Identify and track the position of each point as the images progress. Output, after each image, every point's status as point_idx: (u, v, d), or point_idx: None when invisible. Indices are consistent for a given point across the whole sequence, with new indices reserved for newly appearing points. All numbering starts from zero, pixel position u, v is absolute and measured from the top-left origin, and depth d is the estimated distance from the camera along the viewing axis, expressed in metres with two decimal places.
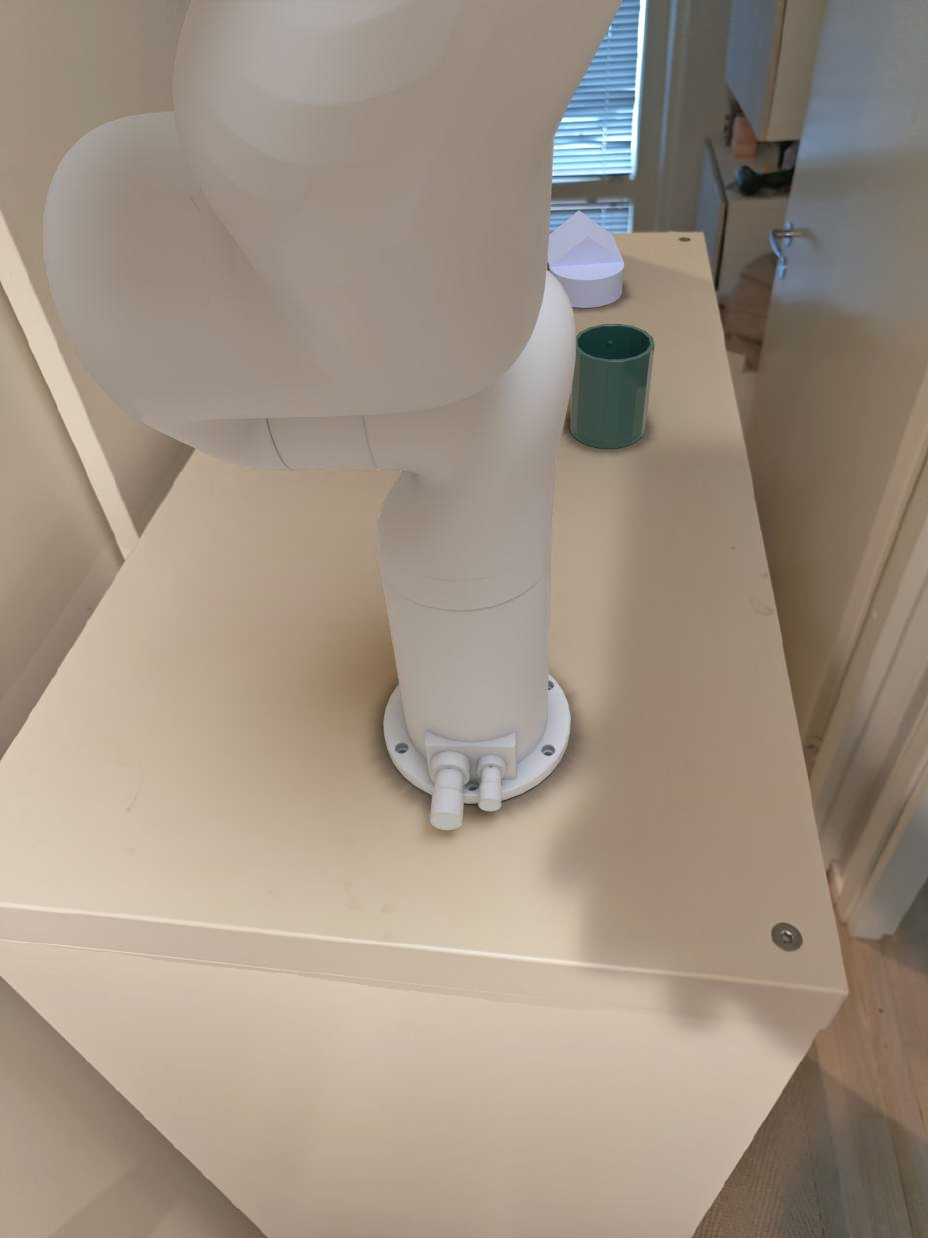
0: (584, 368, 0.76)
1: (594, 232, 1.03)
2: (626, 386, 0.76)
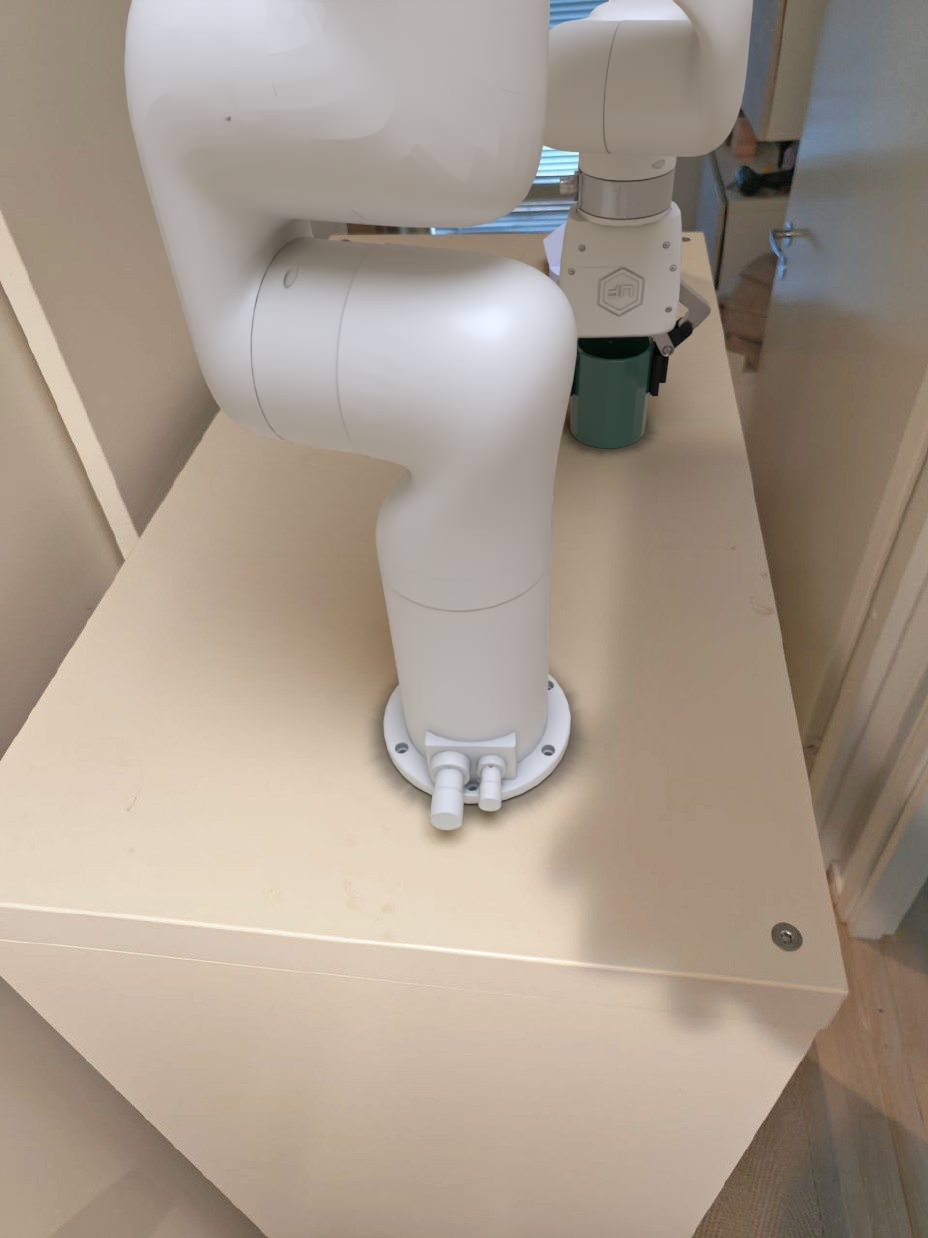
0: (584, 368, 0.76)
1: None
2: (626, 386, 0.76)
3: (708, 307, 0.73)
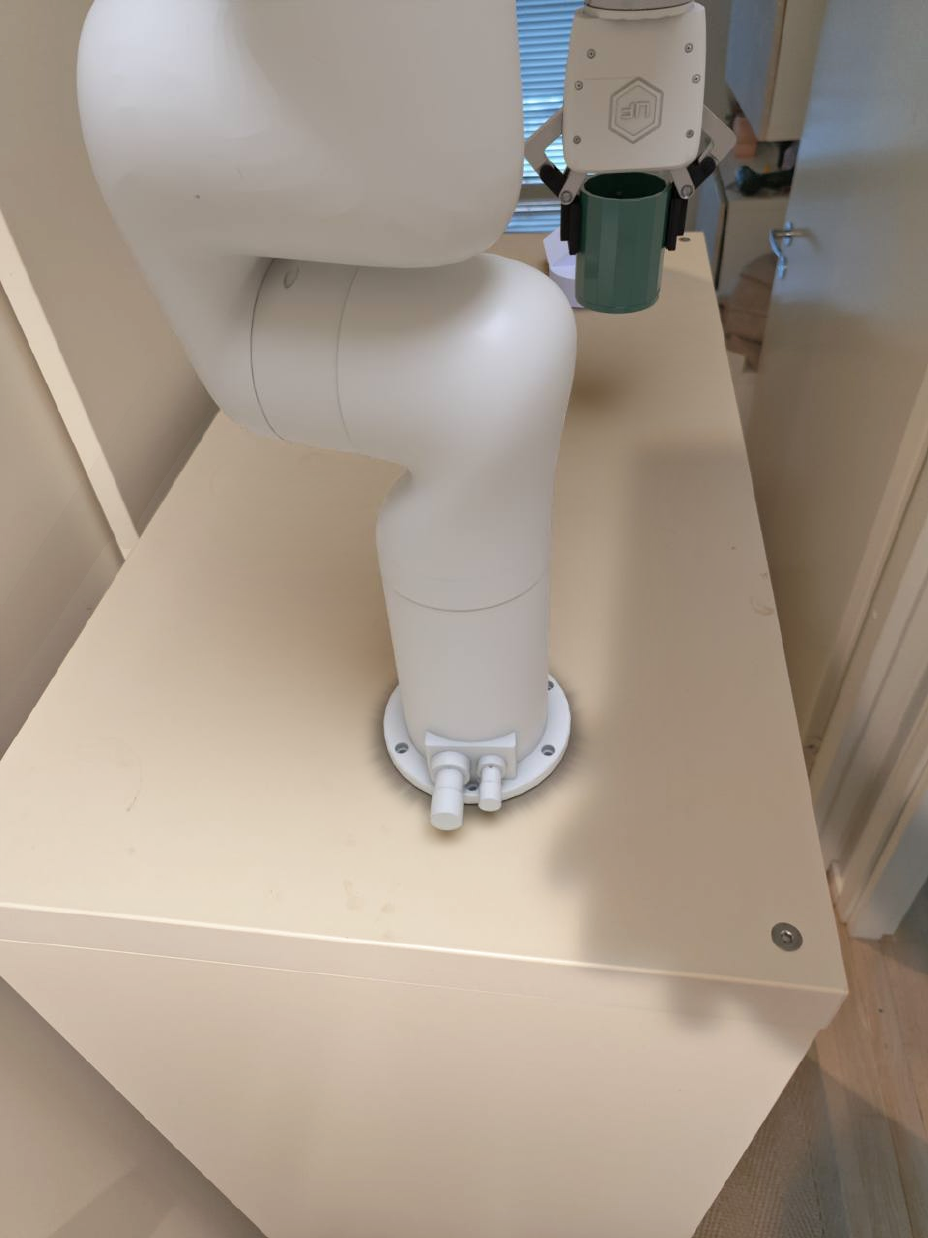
0: (592, 213, 0.66)
1: None
2: (641, 233, 0.66)
3: (734, 136, 0.64)
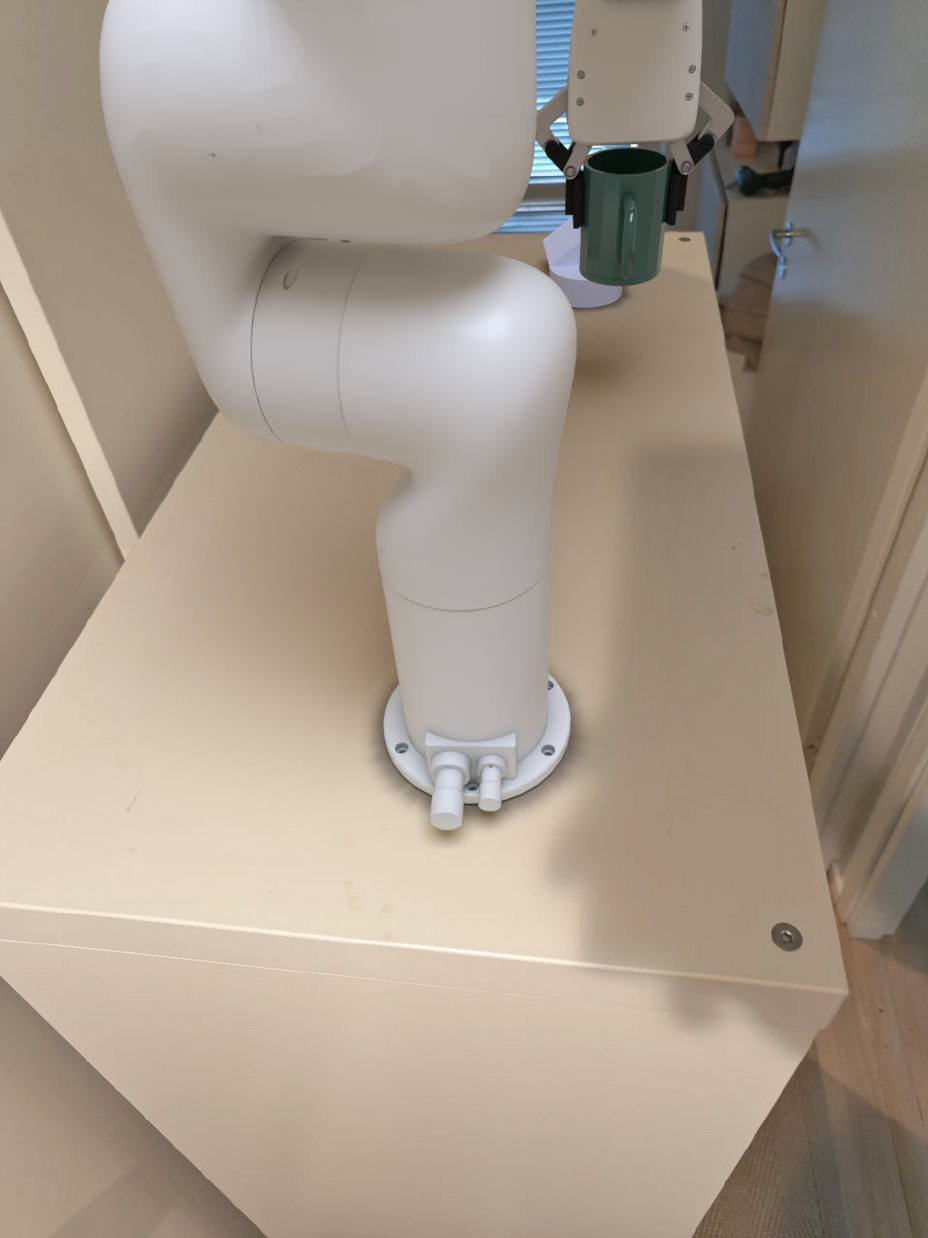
0: None
1: None
2: None
3: None
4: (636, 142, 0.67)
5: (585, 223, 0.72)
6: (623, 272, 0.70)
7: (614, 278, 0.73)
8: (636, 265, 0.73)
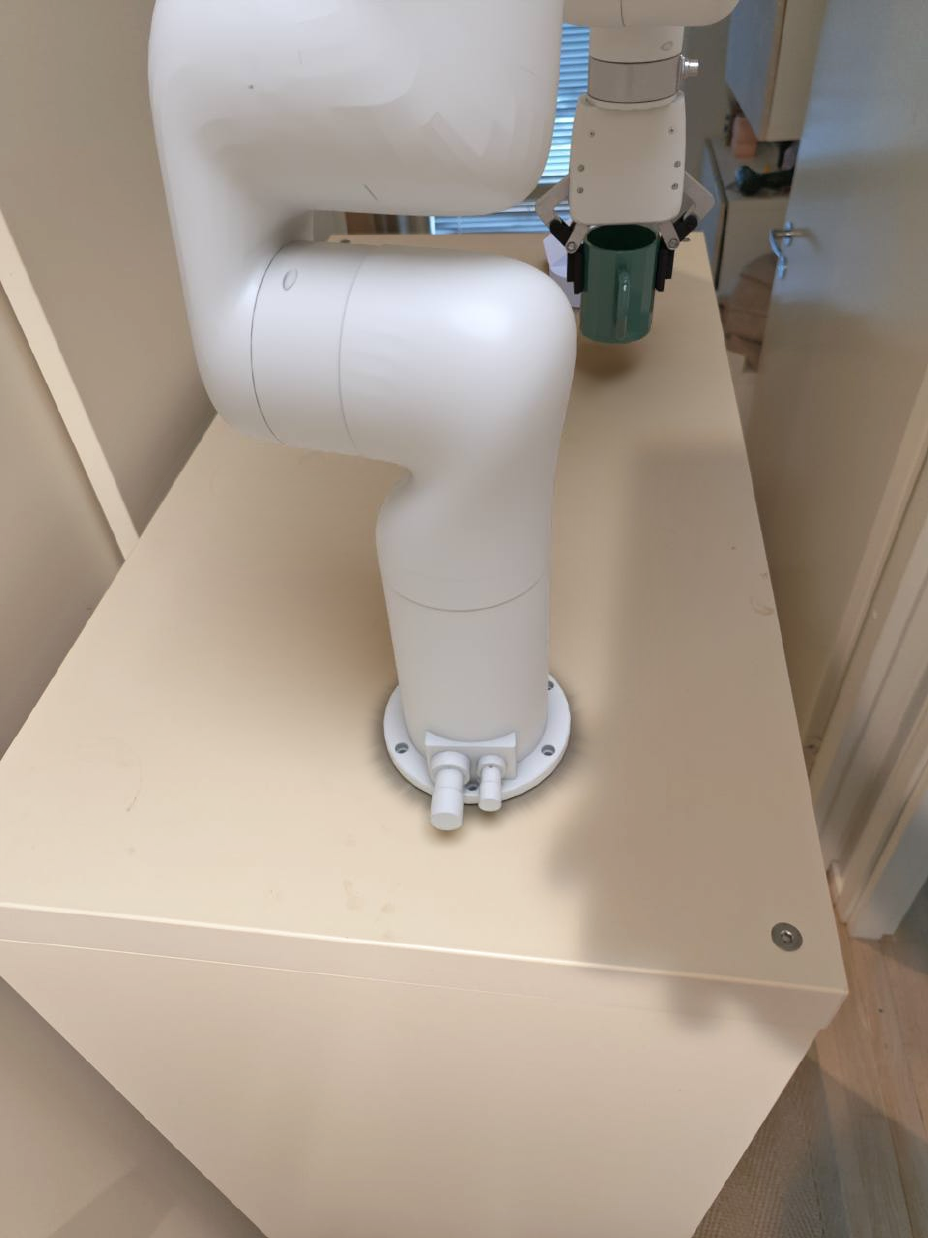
0: None
1: None
2: None
3: (537, 201, 0.79)
4: (629, 223, 0.77)
5: (585, 289, 0.82)
6: (618, 334, 0.80)
7: (610, 337, 0.83)
8: (629, 326, 0.82)
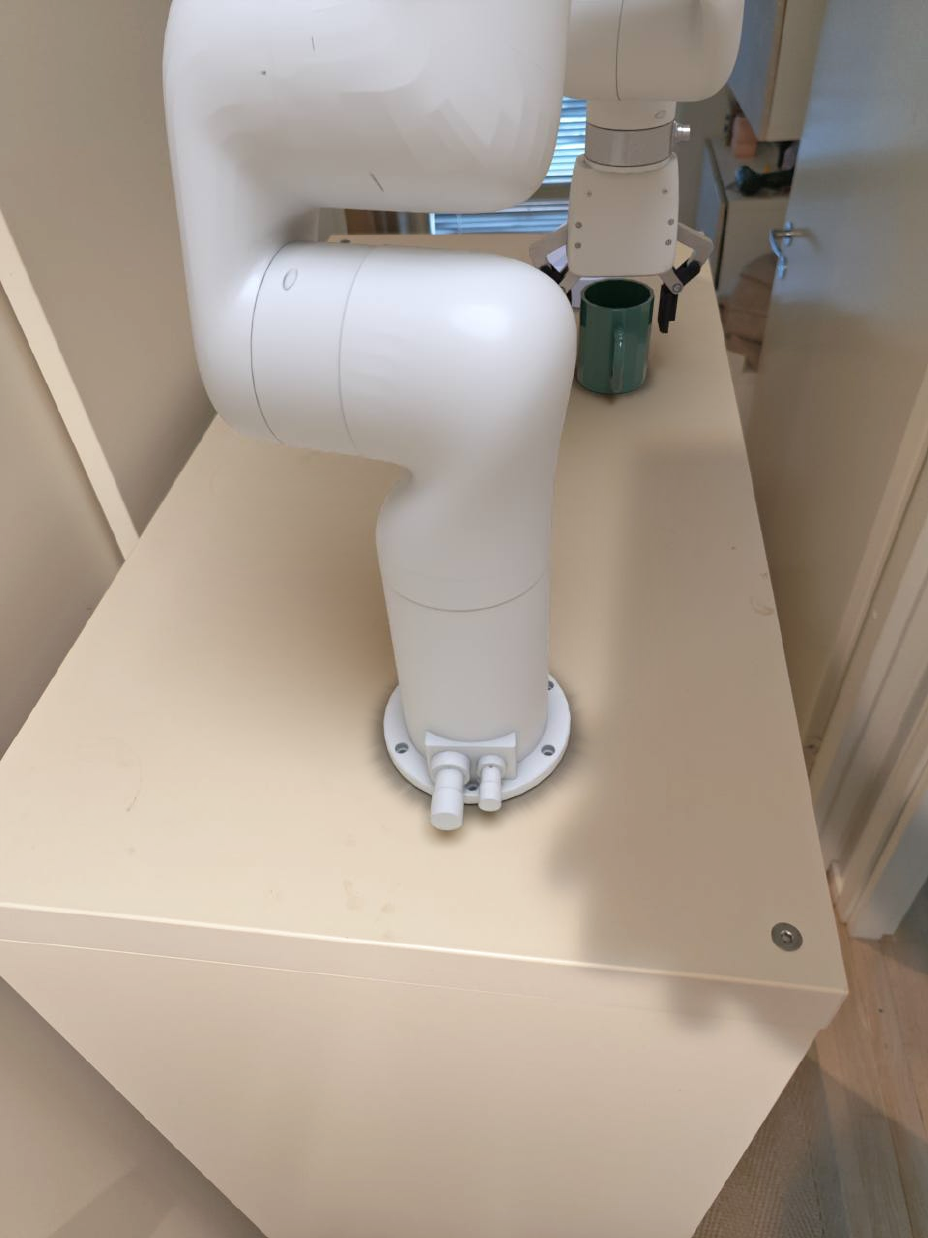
0: None
1: None
2: None
3: (532, 244, 0.81)
4: (625, 276, 0.80)
5: (582, 343, 0.86)
6: (614, 387, 0.84)
7: (606, 387, 0.87)
8: (625, 377, 0.86)
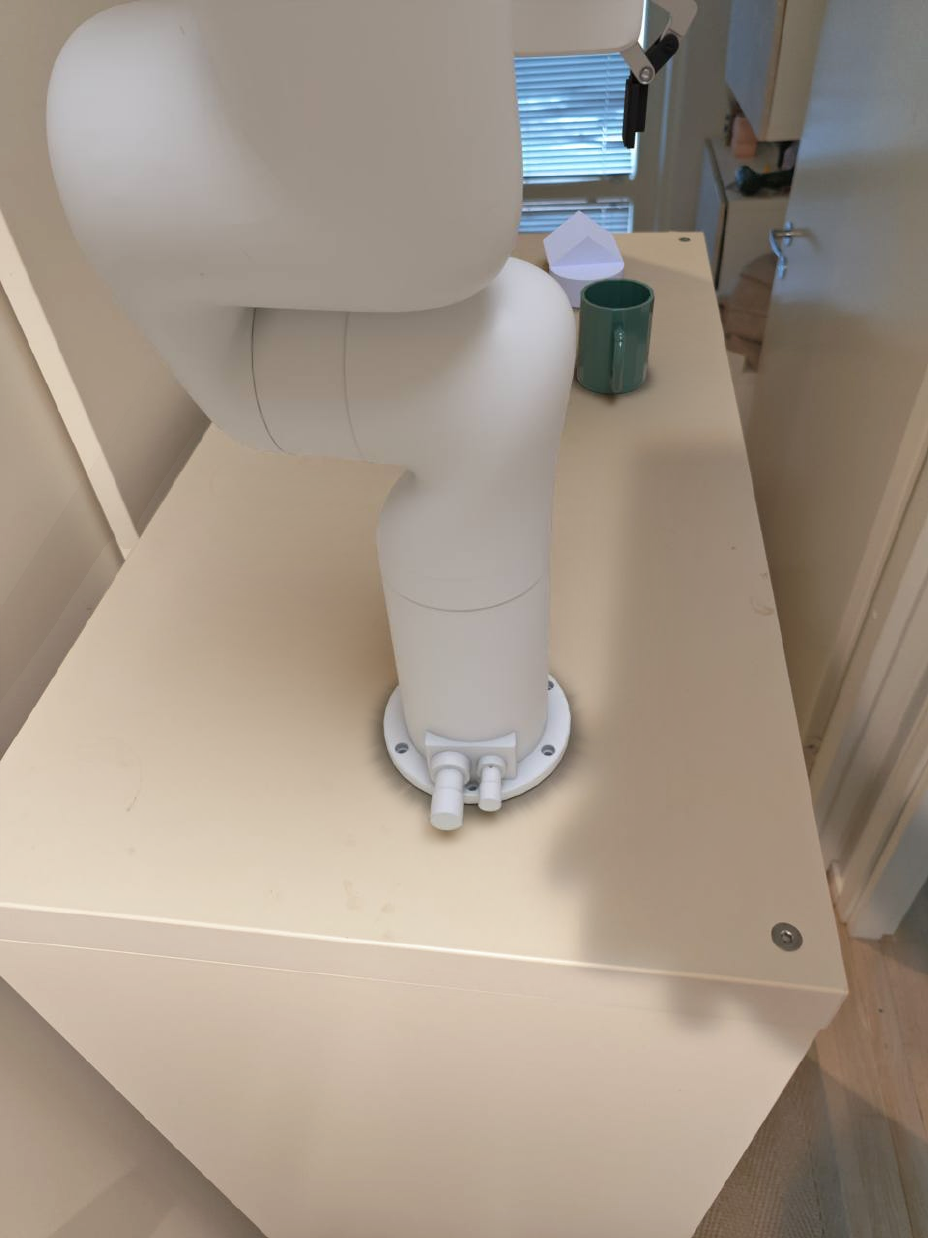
0: None
1: (594, 232, 1.03)
2: None
3: None
4: (572, 52, 0.57)
5: (582, 343, 0.86)
6: (614, 387, 0.84)
7: (606, 387, 0.87)
8: (625, 377, 0.86)
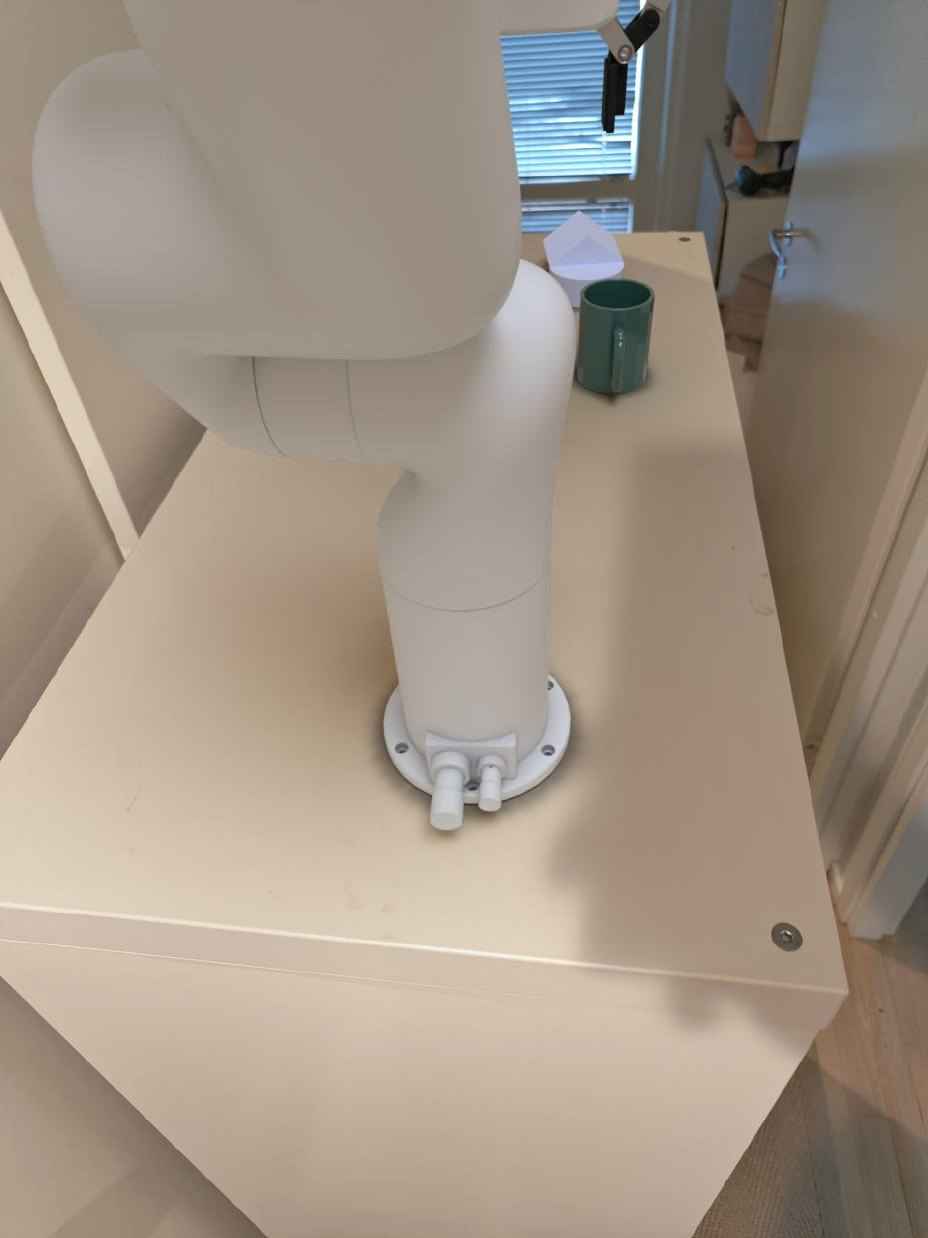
0: None
1: (594, 232, 1.03)
2: None
3: None
4: (545, 30, 0.53)
5: (582, 343, 0.86)
6: (614, 387, 0.84)
7: (606, 387, 0.87)
8: (625, 377, 0.86)
